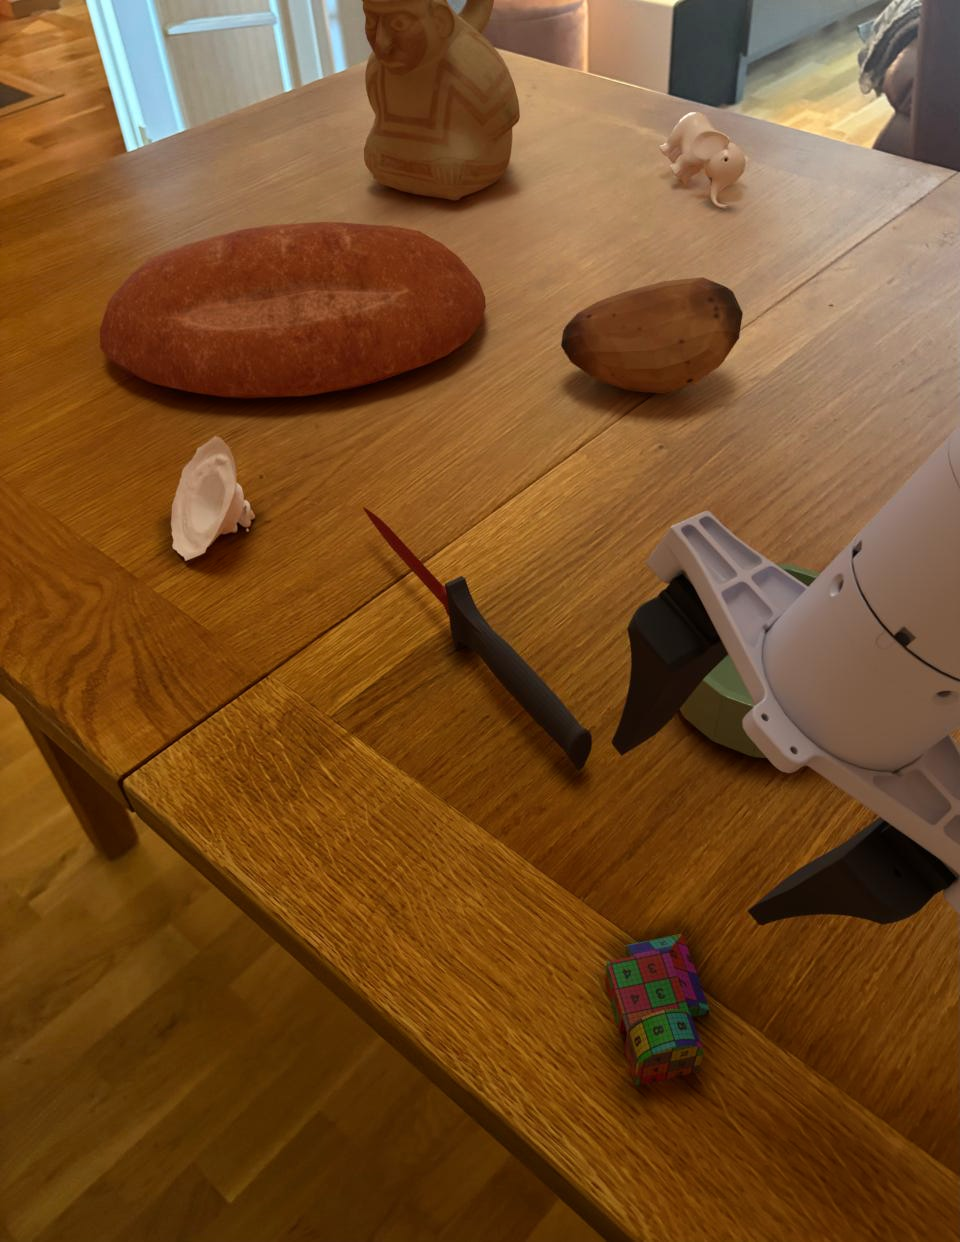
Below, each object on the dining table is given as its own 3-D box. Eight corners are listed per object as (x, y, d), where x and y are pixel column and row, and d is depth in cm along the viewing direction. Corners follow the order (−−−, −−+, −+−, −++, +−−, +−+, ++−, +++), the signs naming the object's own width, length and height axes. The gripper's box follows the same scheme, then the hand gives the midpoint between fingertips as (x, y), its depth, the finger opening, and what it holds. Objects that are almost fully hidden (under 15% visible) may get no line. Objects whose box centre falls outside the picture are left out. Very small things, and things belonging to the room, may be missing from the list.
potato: (580, 428, 81) (563, 335, 83) (752, 388, 79) (731, 293, 80) (566, 395, 74) (548, 293, 75) (756, 349, 71) (733, 245, 73)
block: (727, 1065, 44) (738, 1033, 41) (635, 1085, 43) (640, 1054, 41) (681, 937, 48) (689, 900, 45) (597, 954, 47) (599, 918, 45)
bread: (506, 389, 80) (503, 283, 74) (91, 437, 78) (51, 332, 71) (468, 255, 96) (463, 158, 89) (121, 292, 93) (91, 195, 87)
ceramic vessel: (327, 197, 106) (284, -93, 88) (433, 130, 117) (413, -140, 99) (467, 231, 99) (451, -75, 81) (564, 156, 110) (569, -127, 92)
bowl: (889, 656, 59) (909, 600, 56) (833, 797, 53) (852, 743, 50) (708, 594, 63) (717, 540, 60) (635, 718, 57) (641, 665, 54)
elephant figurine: (686, 210, 98) (742, 163, 95) (639, 123, 103) (690, 75, 99) (721, 239, 104) (774, 196, 101) (674, 156, 108) (724, 112, 105)
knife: (592, 771, 55) (596, 712, 51) (570, 784, 54) (572, 725, 50) (376, 531, 69) (367, 472, 65) (357, 540, 68) (347, 480, 65)
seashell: (247, 577, 72) (275, 544, 65) (168, 573, 70) (190, 539, 63) (245, 469, 74) (273, 426, 66) (169, 461, 71) (189, 416, 64)
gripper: (676, 451, 28) (503, 710, 38) (1094, 892, 23) (771, 1053, 33) (818, 397, 32) (628, 643, 42) (1196, 762, 27) (881, 940, 38)
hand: (699, 818), depth 38 cm, fingers open, 7 cm apart
